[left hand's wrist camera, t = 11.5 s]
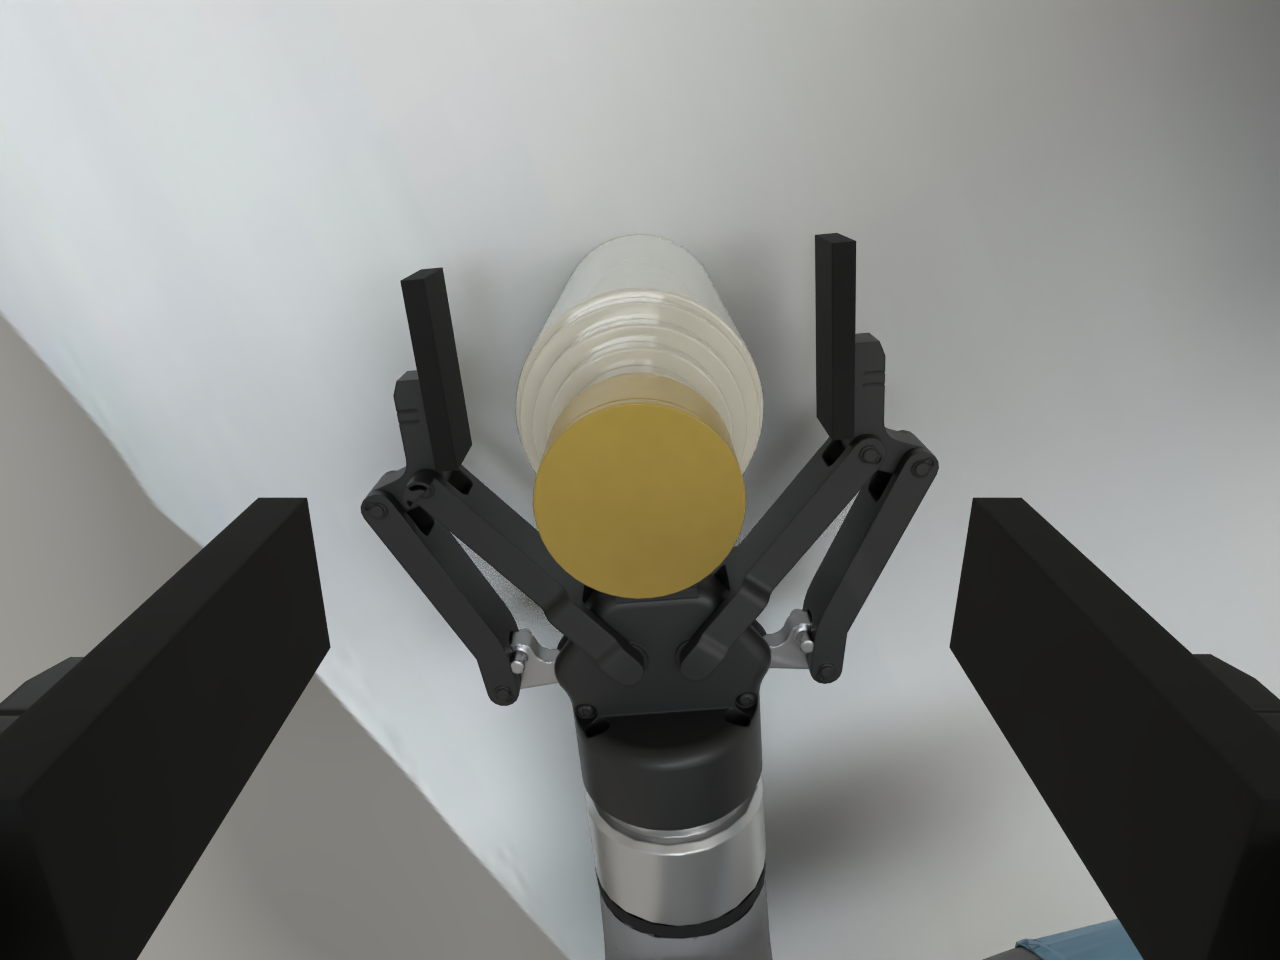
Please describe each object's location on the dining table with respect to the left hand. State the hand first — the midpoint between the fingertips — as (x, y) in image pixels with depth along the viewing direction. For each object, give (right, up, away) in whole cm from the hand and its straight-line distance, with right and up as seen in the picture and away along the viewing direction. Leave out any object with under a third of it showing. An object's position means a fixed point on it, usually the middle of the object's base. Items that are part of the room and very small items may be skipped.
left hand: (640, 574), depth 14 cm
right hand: (0, +9, +14) cm, 17 cm away
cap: (0, +1, +3) cm, 3 cm away
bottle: (0, +8, +21) cm, 23 cm away
